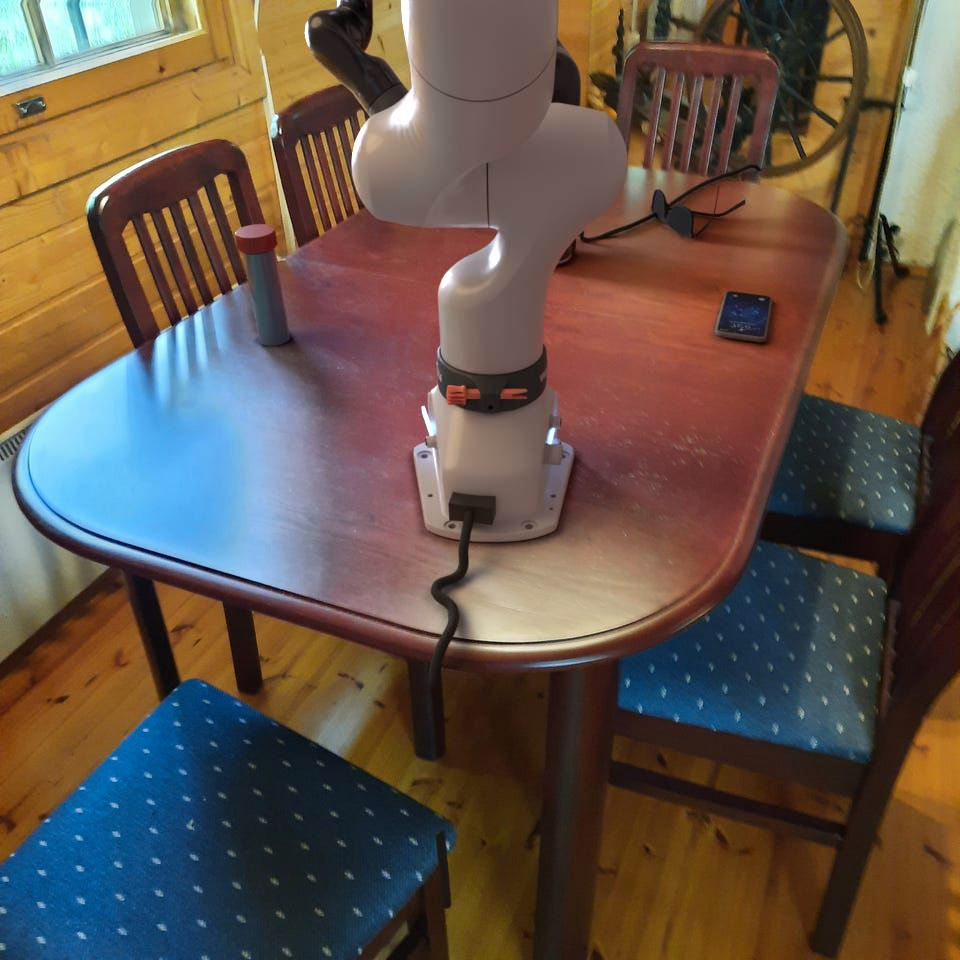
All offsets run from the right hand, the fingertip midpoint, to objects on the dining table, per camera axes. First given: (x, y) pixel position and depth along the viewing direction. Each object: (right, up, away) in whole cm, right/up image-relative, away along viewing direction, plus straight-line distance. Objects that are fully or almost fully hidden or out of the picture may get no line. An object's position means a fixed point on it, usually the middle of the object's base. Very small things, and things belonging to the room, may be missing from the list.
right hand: (467, 211), depth 134 cm
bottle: (-28, -21, -7) cm, 36 cm away
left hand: (+4, +17, -37) cm, 41 cm away
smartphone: (+41, -18, -6) cm, 46 cm away
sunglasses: (+43, +7, +27) cm, 51 cm away
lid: (-29, -8, -17) cm, 34 cm away
